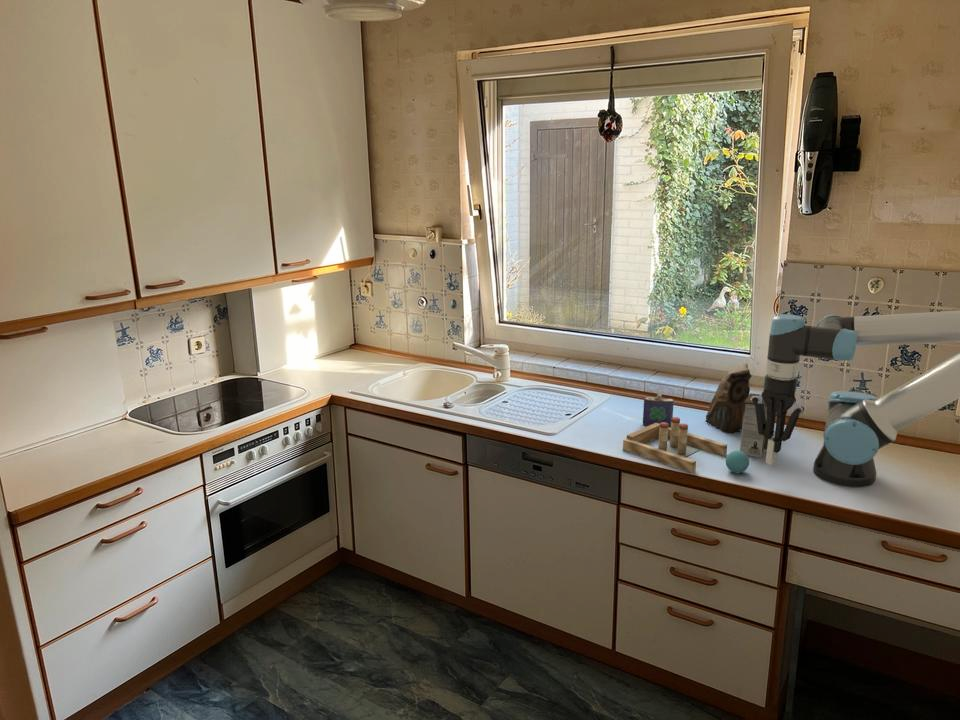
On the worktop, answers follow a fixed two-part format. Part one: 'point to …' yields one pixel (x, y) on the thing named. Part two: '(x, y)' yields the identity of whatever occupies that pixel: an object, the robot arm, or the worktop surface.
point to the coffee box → (751, 429)
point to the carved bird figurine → (730, 400)
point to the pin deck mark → (675, 450)
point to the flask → (657, 410)
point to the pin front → (682, 439)
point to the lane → (651, 432)
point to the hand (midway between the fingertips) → (770, 462)
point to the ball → (737, 461)
